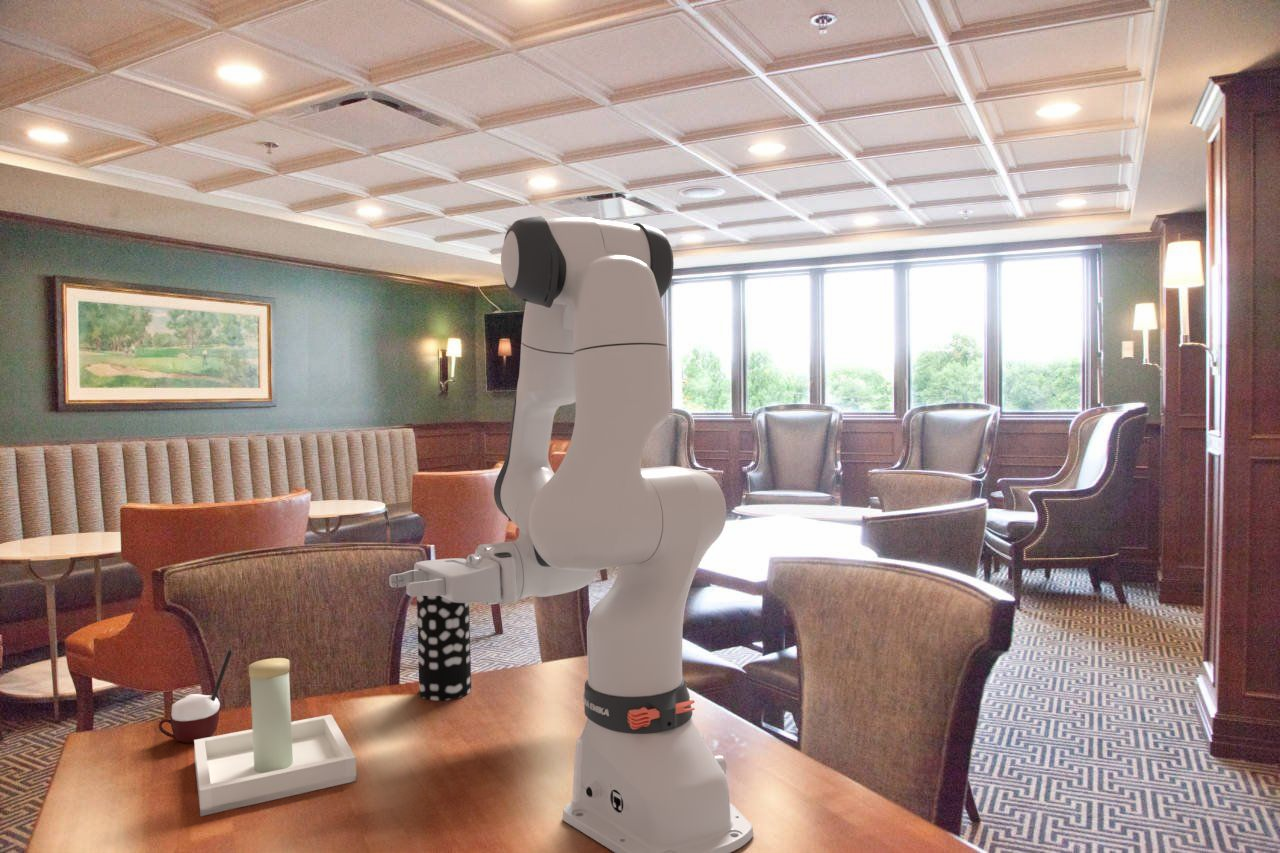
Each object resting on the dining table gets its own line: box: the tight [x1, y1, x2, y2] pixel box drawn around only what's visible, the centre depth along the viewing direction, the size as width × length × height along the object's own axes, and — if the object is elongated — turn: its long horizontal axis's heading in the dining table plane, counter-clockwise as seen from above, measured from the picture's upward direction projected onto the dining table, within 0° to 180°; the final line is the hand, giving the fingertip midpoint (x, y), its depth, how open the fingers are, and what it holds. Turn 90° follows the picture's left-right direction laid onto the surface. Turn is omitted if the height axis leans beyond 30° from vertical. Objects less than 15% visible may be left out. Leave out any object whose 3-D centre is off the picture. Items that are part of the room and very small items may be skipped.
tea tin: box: [248, 657, 293, 773], centre depth 110 cm, size 5×5×13 cm
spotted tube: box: [416, 596, 472, 702], centre depth 139 cm, size 8×8×20 cm
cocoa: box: [158, 648, 233, 744], centre depth 122 cm, size 10×6×12 cm, turn 92°
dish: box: [193, 713, 357, 817], centre depth 110 cm, size 17×17×3 cm
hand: (398, 585), depth 118 cm, fingers open, 8 cm apart
